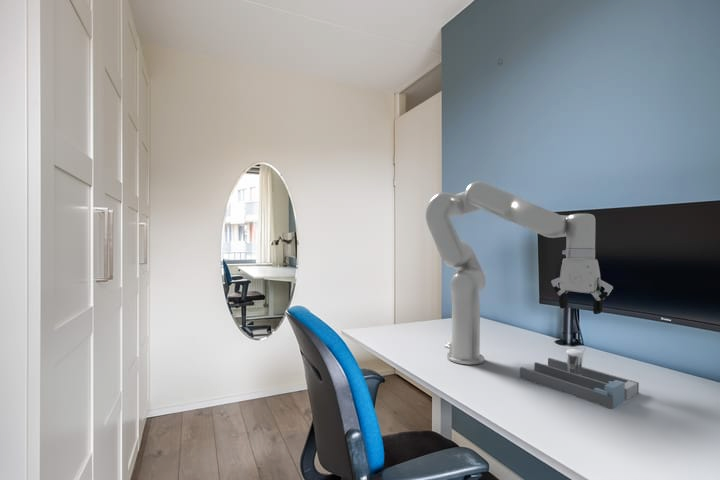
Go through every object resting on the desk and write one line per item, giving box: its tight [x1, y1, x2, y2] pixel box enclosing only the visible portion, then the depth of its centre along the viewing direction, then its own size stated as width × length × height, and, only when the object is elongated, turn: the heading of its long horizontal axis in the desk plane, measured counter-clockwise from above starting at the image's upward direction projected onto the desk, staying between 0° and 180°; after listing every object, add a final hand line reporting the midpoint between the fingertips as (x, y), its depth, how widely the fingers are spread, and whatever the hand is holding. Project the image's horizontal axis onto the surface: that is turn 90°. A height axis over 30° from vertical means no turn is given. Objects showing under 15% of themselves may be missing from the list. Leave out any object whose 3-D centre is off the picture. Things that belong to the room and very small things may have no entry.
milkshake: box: [565, 347, 587, 375], centre depth 111 cm, size 5×5×10 cm
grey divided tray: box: [519, 357, 640, 410], centre depth 107 cm, size 25×17×5 cm
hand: (579, 310), depth 112 cm, fingers open, 9 cm apart
